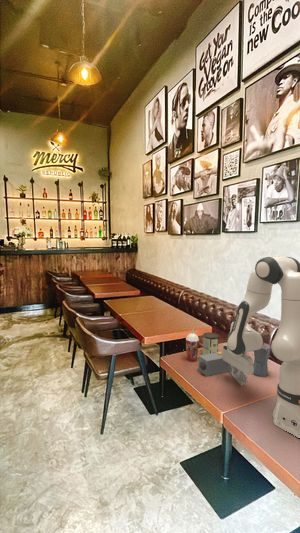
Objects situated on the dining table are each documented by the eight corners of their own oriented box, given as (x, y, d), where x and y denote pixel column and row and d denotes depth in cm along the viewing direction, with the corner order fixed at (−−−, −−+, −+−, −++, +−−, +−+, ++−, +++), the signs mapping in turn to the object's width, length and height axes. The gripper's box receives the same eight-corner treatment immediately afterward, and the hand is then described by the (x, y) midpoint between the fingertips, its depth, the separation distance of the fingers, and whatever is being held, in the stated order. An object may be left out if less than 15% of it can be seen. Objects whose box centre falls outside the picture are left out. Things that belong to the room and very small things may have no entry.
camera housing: (228, 371, 161) (229, 355, 160) (204, 376, 154) (205, 360, 153) (220, 365, 168) (220, 350, 168) (196, 370, 161) (197, 354, 160)
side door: (231, 371, 161) (232, 358, 160) (248, 390, 140) (249, 375, 139) (229, 371, 160) (229, 358, 160) (245, 390, 140) (246, 375, 139)
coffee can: (207, 351, 191) (208, 331, 189) (220, 355, 184) (221, 335, 182) (199, 355, 183) (199, 334, 182) (212, 360, 176) (213, 338, 175)
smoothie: (198, 363, 172) (199, 331, 170) (184, 361, 173) (185, 330, 171) (198, 357, 180) (199, 327, 178) (185, 356, 181) (186, 326, 179)
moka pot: (259, 380, 152) (261, 345, 150) (244, 367, 167) (246, 335, 165) (274, 378, 154) (277, 344, 152) (258, 366, 169) (260, 334, 167)
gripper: (257, 356, 137) (255, 383, 138) (229, 342, 156) (228, 366, 157) (248, 358, 134) (246, 385, 136) (220, 344, 153) (219, 368, 154)
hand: (236, 375), depth 146 cm, fingers closed
